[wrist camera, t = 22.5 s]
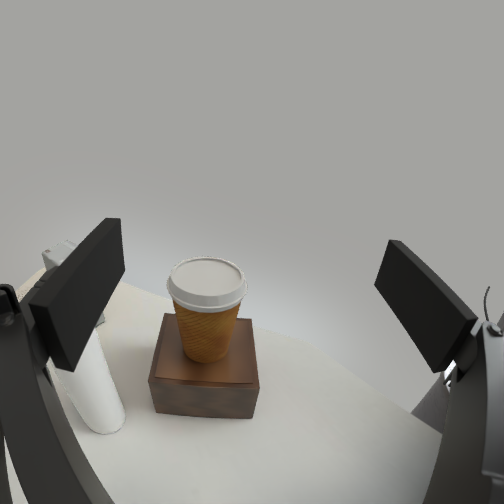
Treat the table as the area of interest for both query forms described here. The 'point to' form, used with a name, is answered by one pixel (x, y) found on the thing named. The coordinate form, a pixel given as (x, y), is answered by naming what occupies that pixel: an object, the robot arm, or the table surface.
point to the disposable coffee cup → (206, 305)
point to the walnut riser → (204, 376)
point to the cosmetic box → (61, 260)
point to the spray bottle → (94, 389)
